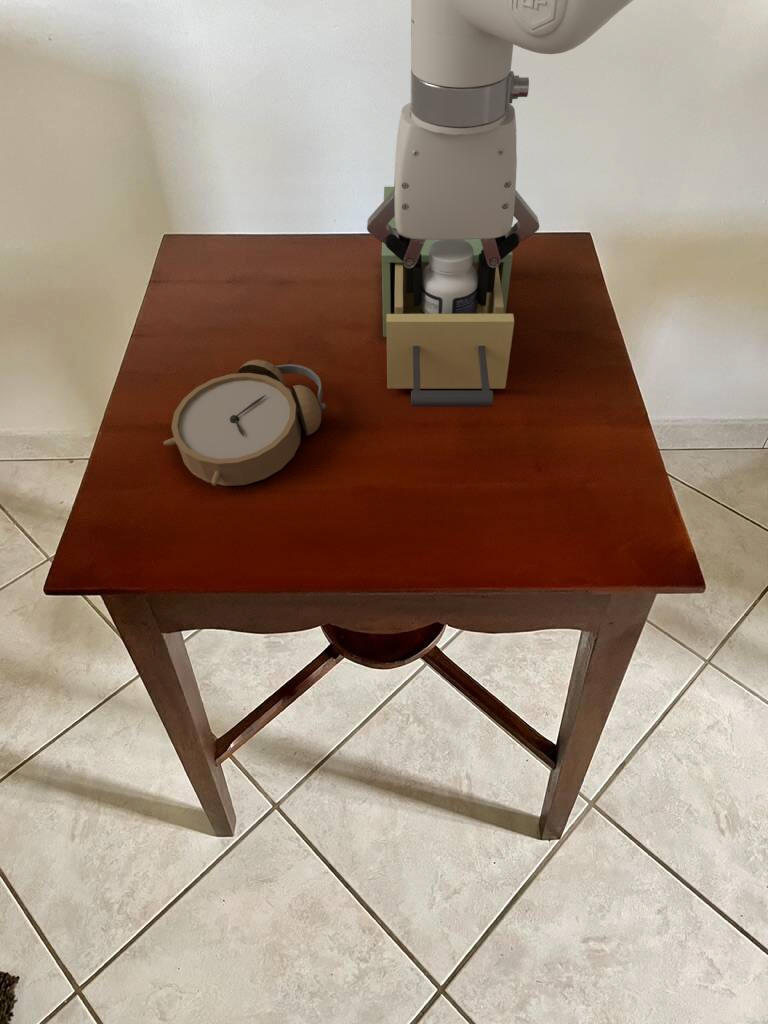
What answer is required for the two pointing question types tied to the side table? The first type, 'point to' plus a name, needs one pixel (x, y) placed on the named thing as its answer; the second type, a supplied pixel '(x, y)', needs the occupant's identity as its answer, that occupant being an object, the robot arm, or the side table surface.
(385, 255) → the cabinet
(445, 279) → the pill bottle
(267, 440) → the alarm clock
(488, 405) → the drawer
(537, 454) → the side table surface
